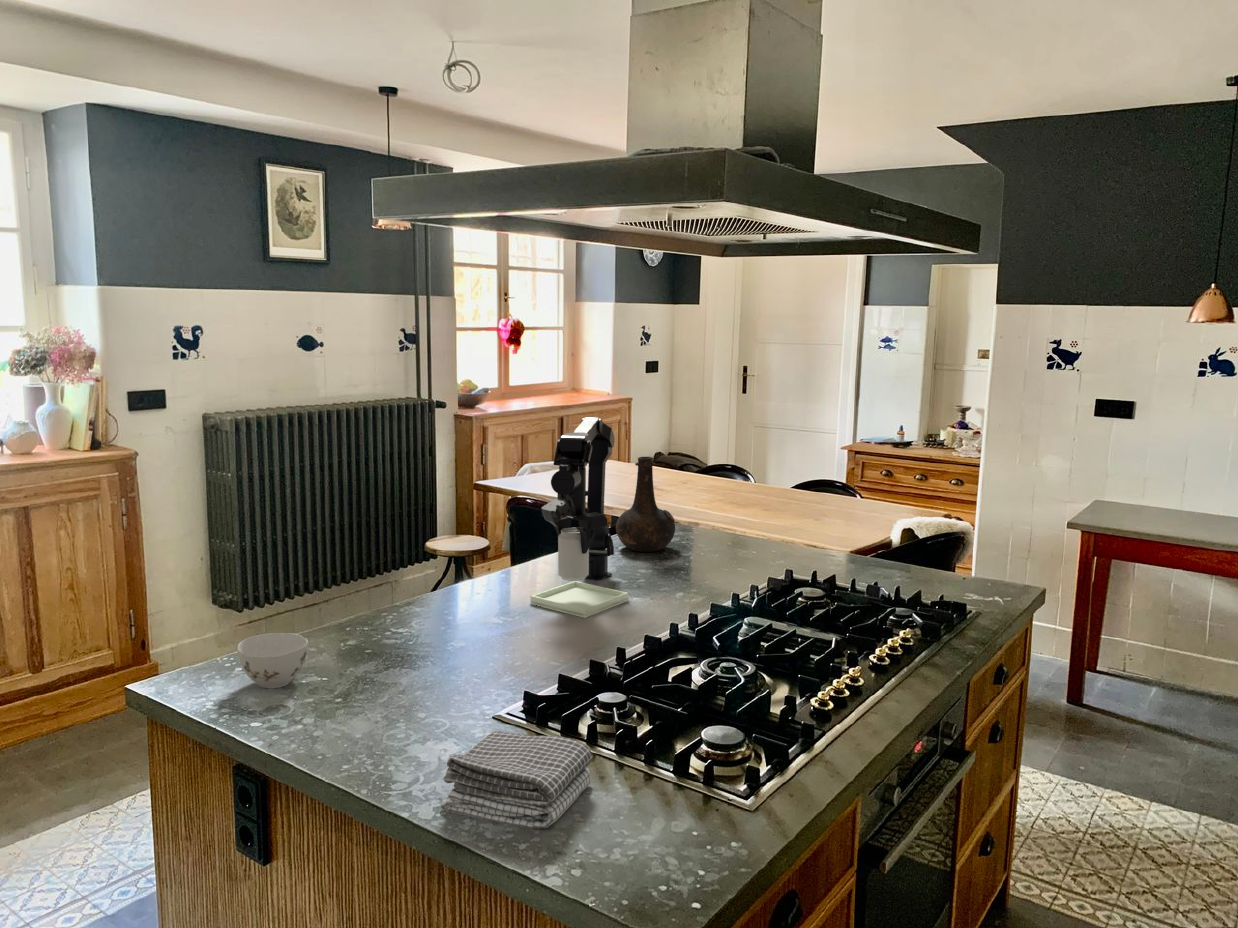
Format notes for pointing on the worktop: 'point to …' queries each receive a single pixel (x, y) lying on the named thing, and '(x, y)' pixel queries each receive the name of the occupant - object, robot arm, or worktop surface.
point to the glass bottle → (645, 516)
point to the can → (572, 556)
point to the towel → (518, 779)
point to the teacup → (272, 658)
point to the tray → (579, 598)
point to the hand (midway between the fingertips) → (573, 550)
